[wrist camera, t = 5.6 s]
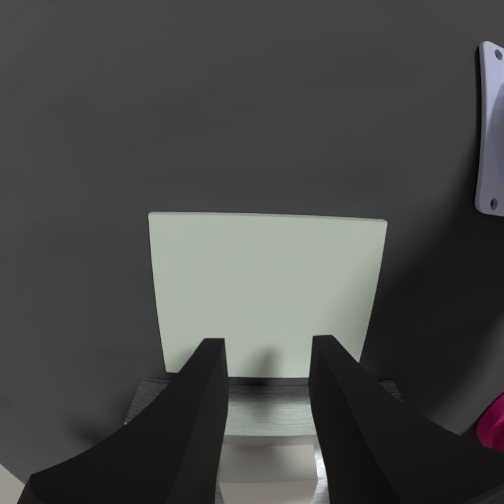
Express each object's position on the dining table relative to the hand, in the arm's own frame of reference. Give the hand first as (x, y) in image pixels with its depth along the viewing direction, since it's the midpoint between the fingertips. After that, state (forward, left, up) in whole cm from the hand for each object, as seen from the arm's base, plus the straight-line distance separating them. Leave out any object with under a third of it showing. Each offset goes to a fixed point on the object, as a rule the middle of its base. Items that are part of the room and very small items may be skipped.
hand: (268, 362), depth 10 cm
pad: (0, 0, -4) cm, 4 cm away
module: (0, +9, -3) cm, 10 cm away
